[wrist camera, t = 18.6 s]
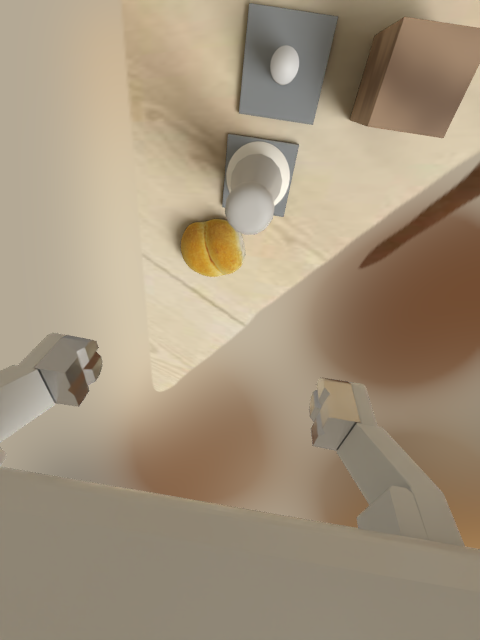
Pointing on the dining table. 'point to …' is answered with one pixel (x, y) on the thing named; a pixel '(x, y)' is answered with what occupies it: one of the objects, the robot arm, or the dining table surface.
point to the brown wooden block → (417, 76)
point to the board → (309, 62)
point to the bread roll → (213, 248)
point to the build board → (275, 150)
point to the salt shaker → (253, 194)
